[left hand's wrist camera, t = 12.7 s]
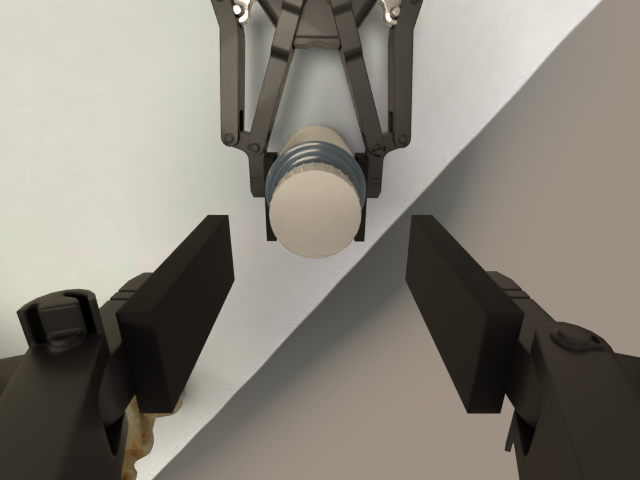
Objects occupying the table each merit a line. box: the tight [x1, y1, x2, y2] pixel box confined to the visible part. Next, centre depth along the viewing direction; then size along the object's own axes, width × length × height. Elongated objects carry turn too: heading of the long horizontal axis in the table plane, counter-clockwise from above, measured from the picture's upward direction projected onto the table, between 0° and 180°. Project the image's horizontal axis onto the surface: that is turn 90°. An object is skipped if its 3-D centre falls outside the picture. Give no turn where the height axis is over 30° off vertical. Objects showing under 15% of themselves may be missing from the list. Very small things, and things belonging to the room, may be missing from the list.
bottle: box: [265, 125, 366, 211], centre depth 26 cm, size 6×6×17 cm
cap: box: [269, 162, 361, 258], centre depth 19 cm, size 5×5×2 cm
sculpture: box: [121, 394, 183, 480], centre depth 37 cm, size 6×7×15 cm
